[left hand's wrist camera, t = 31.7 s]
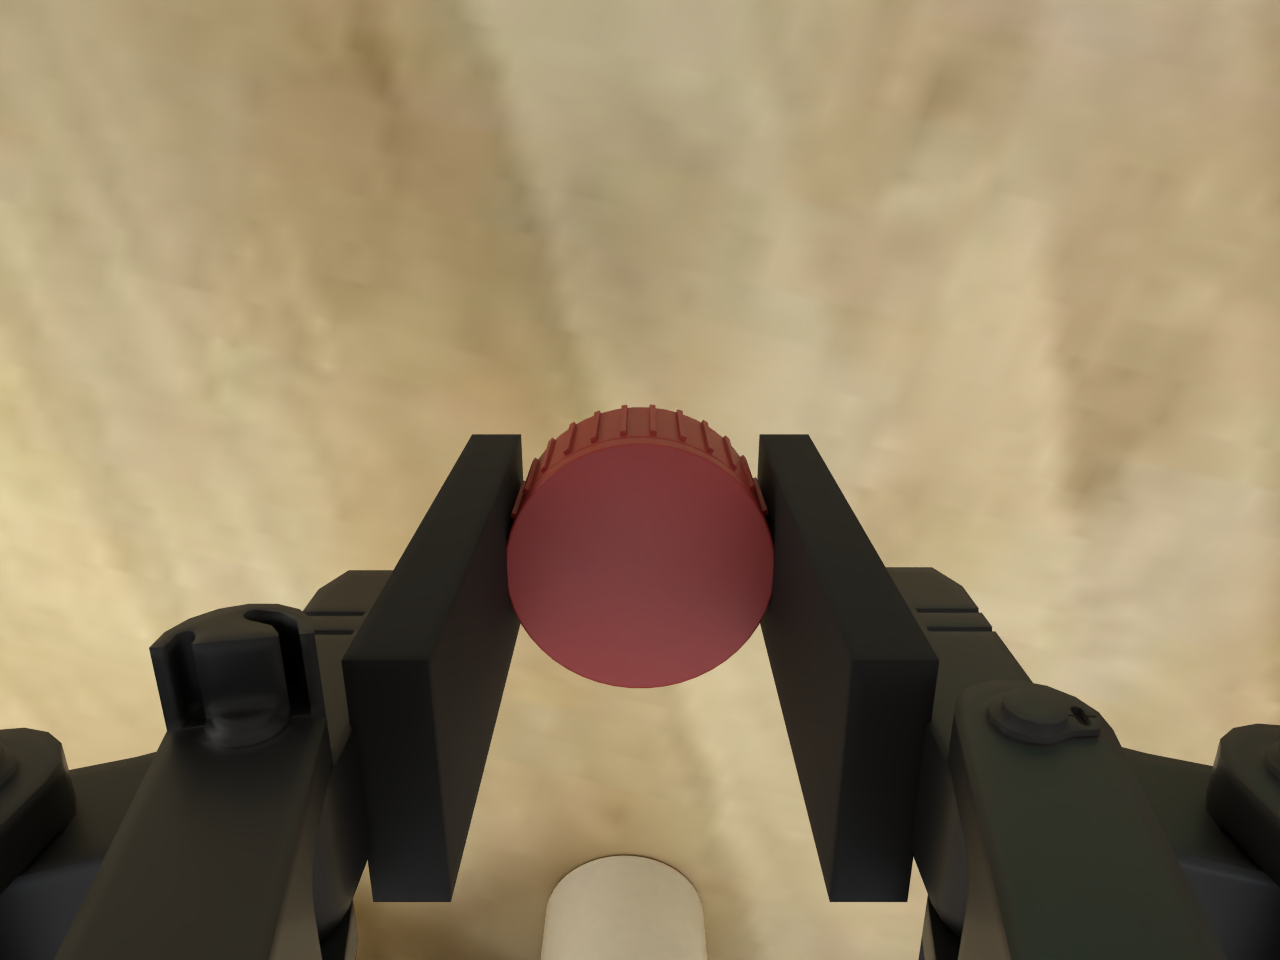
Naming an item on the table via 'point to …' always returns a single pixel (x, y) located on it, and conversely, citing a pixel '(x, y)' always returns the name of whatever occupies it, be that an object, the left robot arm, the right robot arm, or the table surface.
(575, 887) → the bottle
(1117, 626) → the table surface
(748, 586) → the cap
